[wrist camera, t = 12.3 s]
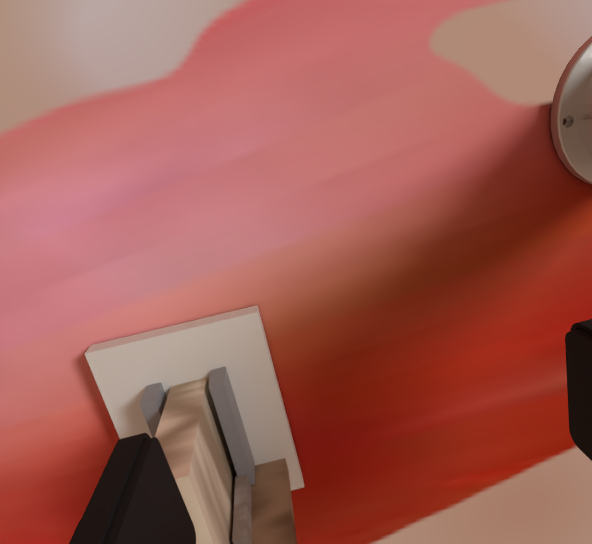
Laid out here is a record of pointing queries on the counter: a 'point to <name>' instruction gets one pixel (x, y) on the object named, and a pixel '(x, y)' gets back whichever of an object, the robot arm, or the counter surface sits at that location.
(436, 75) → the counter surface
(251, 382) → the white tile with rails
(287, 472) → the cabinet side
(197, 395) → the beige rectangular block
